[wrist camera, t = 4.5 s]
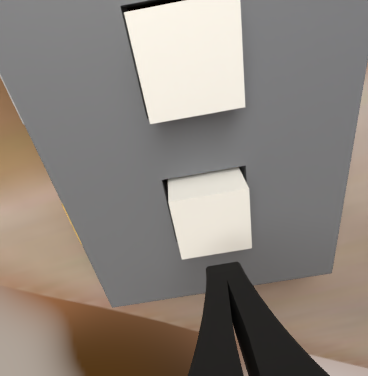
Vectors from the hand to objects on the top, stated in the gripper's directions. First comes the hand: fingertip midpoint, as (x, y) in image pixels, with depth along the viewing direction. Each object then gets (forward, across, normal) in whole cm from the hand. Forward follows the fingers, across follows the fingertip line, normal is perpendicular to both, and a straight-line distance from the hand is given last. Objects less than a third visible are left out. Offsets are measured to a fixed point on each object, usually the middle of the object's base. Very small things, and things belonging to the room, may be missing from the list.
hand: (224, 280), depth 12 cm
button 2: (+6, 0, 0) cm, 6 cm away
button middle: (+6, 0, -8) cm, 10 cm away
